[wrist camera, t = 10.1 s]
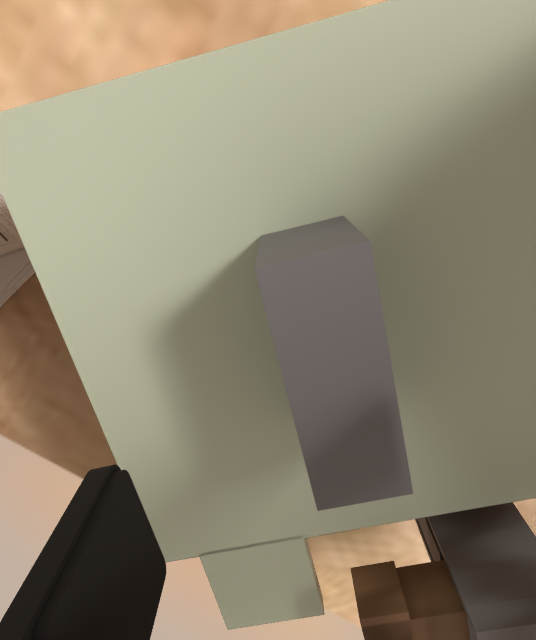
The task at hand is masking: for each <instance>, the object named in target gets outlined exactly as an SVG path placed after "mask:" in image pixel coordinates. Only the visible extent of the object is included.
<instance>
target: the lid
mask: <svg viewBox="0 0 536 640" xmlns="http://www.w3.org/2000/svg"><path fill="white" fill-rule="evenodd" d="M0 190H1V193H2V195H3V197H4V200H5V202H6V205H7V207H8V209H9V212H10V214H11V216H12V219H13V221H14V223H15V226H16V228H17V230H18V233H19V235H20V237H21V240H22V242H23V244H24V247H25V249H26V251H27V254H28V256H29V259H30V261H31V263H32V266H33V268H34V270H35V273H36V275H37V277H38V280H39V282H40V284H41V287H42V289H43V291H44V294H45V296H46V298H47V301H48V303H49V305H50V308H51V310H52V313H53V315H54V317H55V320H56V322H57V324H58V327H59V329H60V331H61V334H62V336H63V338H64V341H65V343H66V345H67V348H68V350H69V352H70V355H71V357H72V359H73V362H74V364H75V366H76V369H77V371H78V374H79V376H80V378H81V381H82V383H83V385H84V388H85V390H86V392H87V395H88V397H89V399H90V402H91V404H92V406H93V409H94V411H95V413H96V416H97V418H98V420H99V423H100V425H101V428H102V430H103V432H104V435H105V437H106V439H107V442H108V444H109V446H110V449H111V451H112V453H113V456H114V458H115V460H116V463H117V465H118V466H119V467H120V469H121V470H127V471H128V473H129V474H130V477H131V479H132V481H133V484H134V486H135V489H136V491H137V493H138V496H139V498H140V501H141V503H142V505H143V508H144V510H145V513H146V515H147V518H148V520H149V522H150V525H151V527H152V530H153V532H154V534H155V537H156V539H157V542H158V544H159V546H160V549H161V551H162V554H163V556H164V559H165V562H171V561H176V560H182V559H188V558H194V557H200V559H201V562H202V564H203V567H204V570H205V572H206V575H207V577H208V580H209V582H210V585H211V588H212V590H213V593H214V595H215V598H216V601H217V603H218V606H219V608H220V611H221V614H222V616H223V619H224V621H225V624H226V627H227V629H228V630H230V629H236V628H242V627H249V626H255V625H261V624H268V623H274V622H281V621H287V620H293V619H300V618H306V617H312V616H319V615H324V606H323V597H322V593H321V589H320V586H319V582H318V578H317V575H316V571H315V568H314V564H313V560H312V557H311V553H310V550H309V546H308V542H307V539H306V538H309V537H314V536H320V535H326V534H332V533H337V532H343V531H349V530H355V529H360V528H366V527H372V526H378V525H383V524H389V523H395V522H401V521H406V520H412V519H418V518H423V517H429V516H435V515H441V514H446V513H452V512H458V511H464V510H469V509H475V508H481V507H487V506H492V505H498V504H504V503H510V502H515V501H521V500H527V499H532V498H536V0H389V1H386V2H382V3H379V4H375V5H372V6H368V7H365V8H361V9H358V10H354V11H351V12H347V13H344V14H340V15H337V16H333V17H330V18H326V19H323V20H319V21H316V22H312V23H309V24H305V25H302V26H298V27H295V28H292V29H288V30H285V31H281V32H278V33H274V34H271V35H267V36H264V37H260V38H257V39H253V40H250V41H246V42H243V43H239V44H236V45H232V46H229V47H225V48H222V49H218V50H215V51H211V52H208V53H204V54H201V55H197V56H194V57H190V58H187V59H183V60H180V61H177V62H173V63H170V64H166V65H163V66H159V67H156V68H152V69H149V70H145V71H142V72H138V73H135V74H131V75H128V76H124V77H121V78H117V79H114V80H110V81H107V82H103V83H100V84H96V85H93V86H89V87H86V88H82V89H79V90H75V91H72V92H68V93H65V94H61V95H58V96H55V97H51V98H48V99H44V100H41V101H37V102H34V103H30V104H27V105H23V106H20V107H16V108H13V109H9V110H6V111H2V112H0Z"/></svg>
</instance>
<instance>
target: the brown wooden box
mask: <svg viewBox="0 0 536 640" xmlns="http://www.w3.org/2000/svg"><path fill="white" fill-rule="evenodd" d="M415 520H416V523H417V526H418V528H419V531H420V534H421V536H422V539H423V542H424V544H425V547H426V550H427V552H428V555H429V558H430V560H431V562H435V561H441V560H445V563H446V565H447V568H448V570H449V573H450V575H451V577H452V580H453V582H454V585H455V587H456V590H457V592H458V594H459V597H460V599H461V602H462V604H463V607H464V609H465V611H466V614H467V620H468V627H469V634H470V640H536V536H535V535H534V534H533V532H532V531H531V529H530V528H529V526H528V525H527V523H526V522H525V520H524V519H523V517H522V516H521V514H520V513H519V511H518V510H517V508H516V507H515V505H514V504H513V502H510V503H504V504H498V505H492V506H487V507H481V508H475V509H469V510H464V511H458V512H452V513H446V514H441V515H435V516H429V517H423V518H418V519H415Z"/></svg>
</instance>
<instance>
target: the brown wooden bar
mask: <svg viewBox="0 0 536 640" xmlns="http://www.w3.org/2000/svg"><path fill="white" fill-rule="evenodd" d="M351 573H352V579H353V584H354V590H355V596H356V601H357V607H358V613H359V618H360V623H361V627H362V631H363V635H364V638H365V640H470V634H469V627H468V620H467V614H466V611H465V609H464V607H463V604H462V602H461V599H460V597H459V594H458V592H457V590H456V587H455V585H454V582H453V580H452V577H451V575H450V573H449V570H448V568H447V565H446V563H445V560H441V561H435V562H429V563H423V564H417V565H411V566H405V567H399V568H396V567H395V564H394V561H390V562H384V563H378V564H372V565H366V566H360V567H354V568H351Z"/></svg>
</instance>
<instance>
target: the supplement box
mask: <svg viewBox="0 0 536 640" xmlns="http://www.w3.org/2000/svg"><path fill="white" fill-rule="evenodd" d="M34 273H35V270H34V268H33V266H32V263H31V261H30V259H29V256H28V254H27V251H26V249H25V247H24V244H23V242H22V240H21V237H20V235H19V233H18V230H17V228H16V226H15V223H14V221H13V219H12V216H11V214H10V212H9V209H8V207H7V205H6V202H5V200H4V197H3V195H2V193H1V190H0V307H1V306H2V305H3V304H4V303H5V302H6V301H7V300H8V299H9V298H10V297H11V296H12V295H13V294H14V293H15V292H16V291H17V290H18V289H19V288H20V287H21V286H22V285H23V284H24V283H25V282H26V281H27V280H28V279H29V278H30V277H31V276H32V275H33V274H34Z"/></svg>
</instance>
